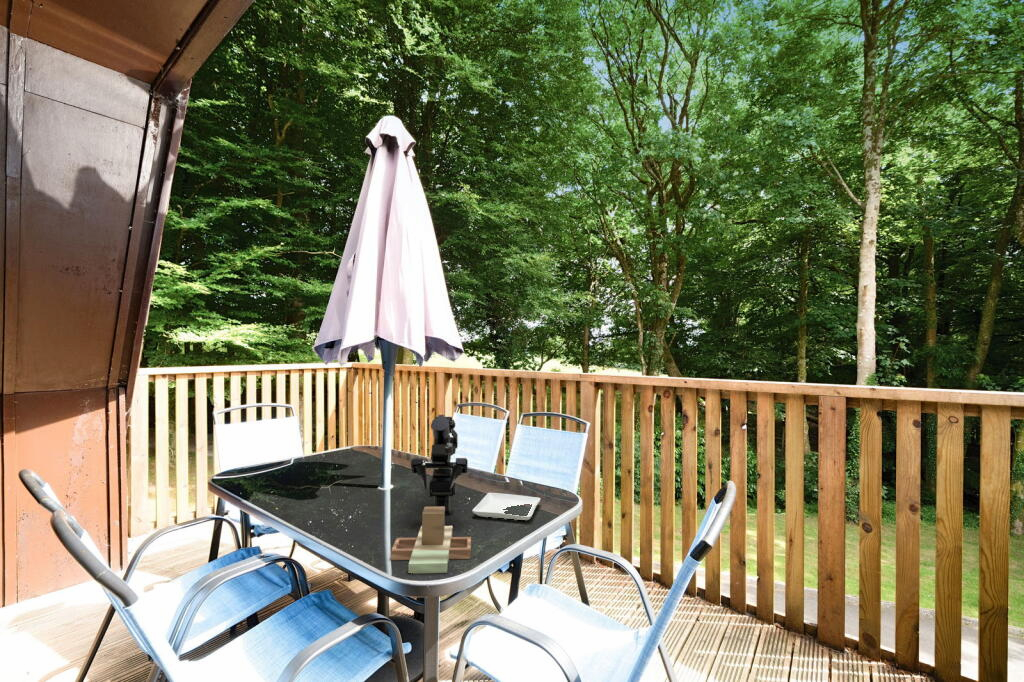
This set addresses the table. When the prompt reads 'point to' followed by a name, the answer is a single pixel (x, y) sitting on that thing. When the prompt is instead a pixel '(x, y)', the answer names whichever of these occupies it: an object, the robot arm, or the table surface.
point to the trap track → (431, 552)
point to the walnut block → (433, 525)
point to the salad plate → (504, 505)
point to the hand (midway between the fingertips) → (437, 488)
